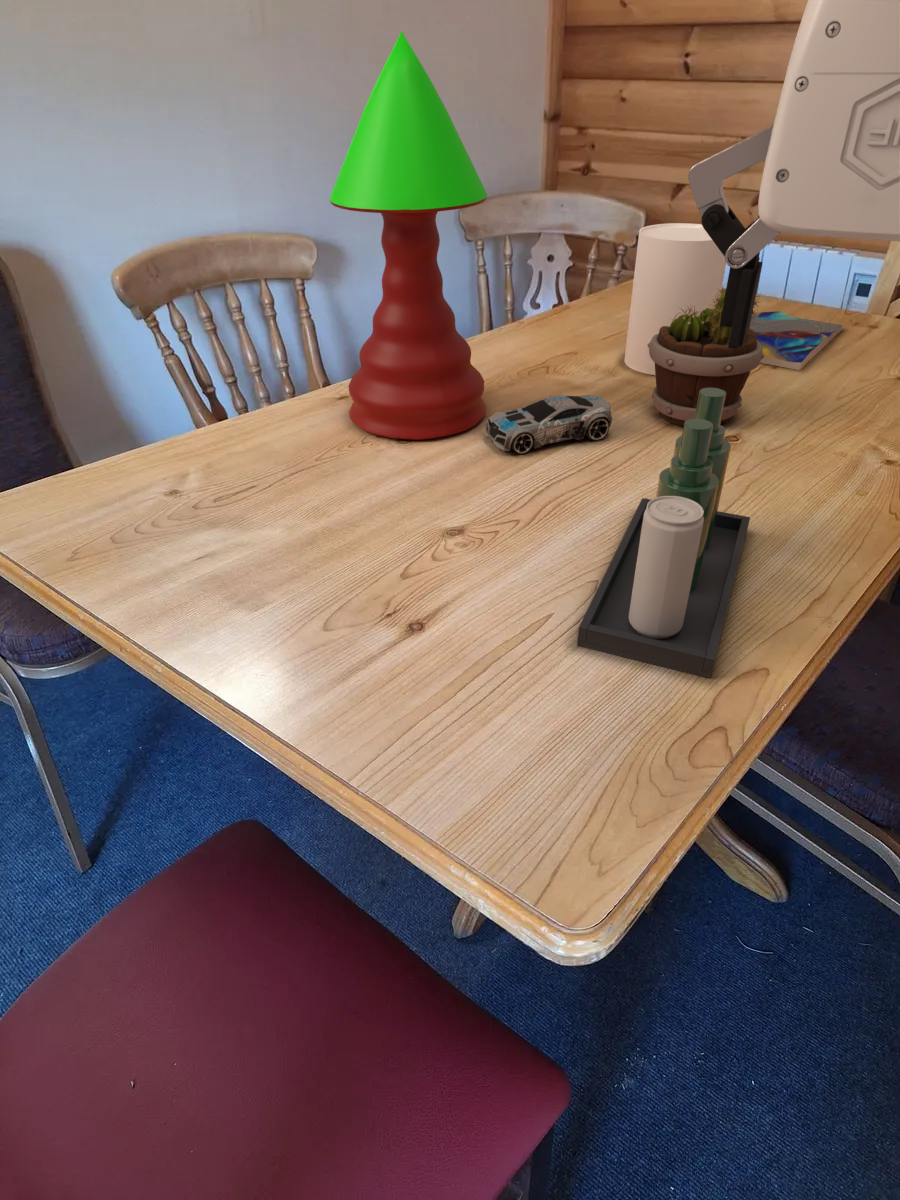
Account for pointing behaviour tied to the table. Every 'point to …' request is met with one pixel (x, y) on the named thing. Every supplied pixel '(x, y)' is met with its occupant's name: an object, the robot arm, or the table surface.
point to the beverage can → (665, 565)
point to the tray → (704, 609)
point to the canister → (670, 283)
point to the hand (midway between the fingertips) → (832, 351)
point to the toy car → (550, 422)
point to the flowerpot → (700, 363)
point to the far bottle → (713, 441)
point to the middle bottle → (693, 479)
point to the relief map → (791, 338)
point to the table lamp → (411, 257)
